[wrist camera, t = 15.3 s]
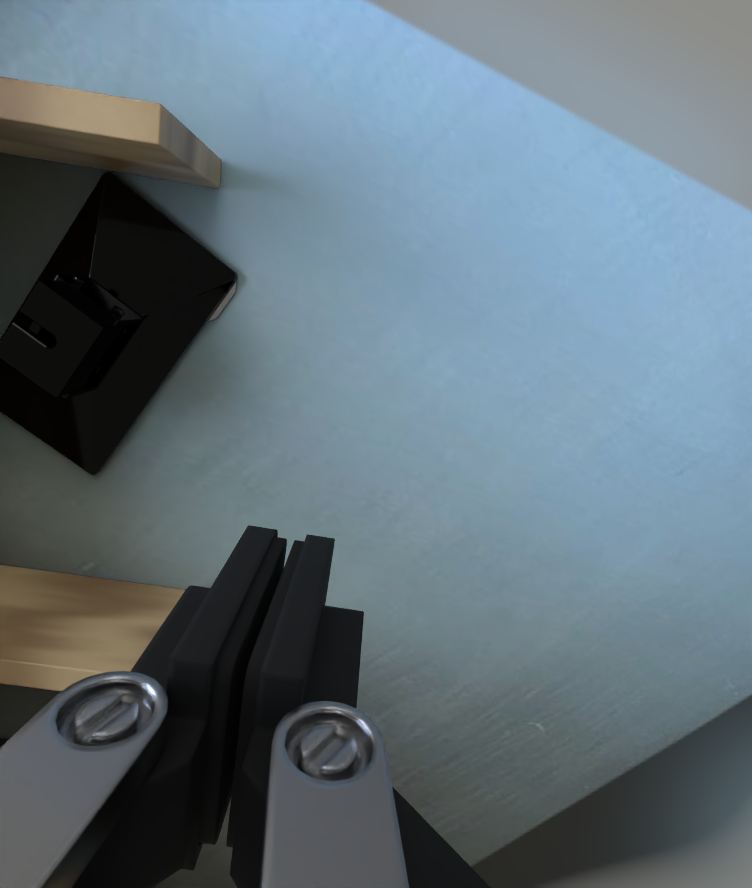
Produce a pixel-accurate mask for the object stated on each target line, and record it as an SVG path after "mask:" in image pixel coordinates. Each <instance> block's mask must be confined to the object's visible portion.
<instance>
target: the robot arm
mask: <svg viewBox="0 0 752 888" xmlns="http://www.w3.org/2000/svg"><path fill="white" fill-rule="evenodd" d="M277 536H278V532H277V530H275V529H268V528H262V527H255V526H248V527H247V528H246V530H245V532H244V533H243V535H242V537H241V538H240V540H239V542H238V543H237V545H236V547H235V548H234V550H233V552H232V553H231V555H230V557H229V558H228V560H227V562H226V563H225V565H224V567H223V568H222V570H221V572H220V573H219V575H218V577H217V578H216V580H215V582H214V583H213V585H212V587H211V588H205V587H199V586H189V587H188V588H187V589H186V590H185V591H184V593H183V594H182V596H181V597H180V599H179V600H178V602H177V603H176V605H175V606H174V608H173V609H172V611H171V612H170V614H169V615H168V616H167V618H166V619H165V621H164V622H163V624H162V625H161V627H160V628H159V630H158V631H157V633H156V634H155V636H154V637H153V639H152V640H151V642H150V643H149V644H148V646H147V647H146V649H145V650H144V652H143V653H142V655H141V656H140V658H139V659H138V661H137V662H136V664H135V665H134V667H133V668H132V669H131V671H130V672H129V671H114V672H104V673H100V674H96V675H93V676H89V677H86V678H84V679H82V680H80V681H78V682H75V683H73V684H71V685H70V686H68V687H67V688H66V689H64V690H63V691H61V692H60V693H59V694H57V695H56V696H55V697H54V698H53V699H52V700H51V701H50V702H49V703H47V704H46V705H45V706H44V707H43V708H42V709H41V710H40V711H39V712H38V713H37V714H36V715H35V716H34V717H33V718H32V719H30V720H29V721H28V722H27V723H26V724H25V725H24V726H23V727H22V728H21V729H20V730H19V731H18V732H17V733H16V734H14V735H13V736H12V737H11V738H10V739H9V740H8V741H7V742H6V743H5V744H4V745H3V746H2V747H1V748H0V888H156V884H158V883H159V882H161V881H163V880H164V879H166V878H167V877H169V876H170V875H172V874H173V873H175V872H176V871H178V870H180V869H187V870H194V868H195V865H196V862H197V859H198V856H199V853H200V850H201V847H202V844H203V843H206V844H213V845H215V844H216V842H217V840H218V837H219V834H220V831H221V828H222V824H223V821H224V818H225V815H226V812H227V808H228V805H229V802H230V799H231V806H230V815H229V825H228V834H227V847H233V851H232V860H231V869H230V876H231V877H232V879H233V881H234V882H235V884H236V886H237V887H238V888H491V887H490V886H489V885H488V884H487V883H486V882H485V881H484V880H483V879H482V878H481V877H480V876H479V875H478V874H477V873H476V872H475V871H474V870H473V869H472V868H471V867H470V866H469V865H468V864H467V863H466V862H465V861H464V860H463V859H462V858H461V857H460V856H459V854H458V853H457V852H456V851H455V850H454V849H453V848H452V847H451V846H450V845H449V844H448V843H447V842H446V841H445V840H444V839H443V838H442V837H441V836H440V835H439V834H438V833H437V832H436V831H435V830H434V829H433V828H432V827H431V826H430V825H429V824H428V823H427V822H426V821H425V820H424V819H423V818H422V817H421V815H420V814H419V813H418V812H417V811H416V810H415V809H414V808H413V807H412V806H411V805H410V804H409V803H408V802H407V801H406V800H405V799H404V798H403V797H402V796H401V795H400V794H399V793H398V792H397V791H396V790H395V789H394V788H393V787H392V783H391V777H390V772H389V766H388V760H387V754H386V748H385V743H384V740H383V738H382V735H381V732H380V730H379V729H378V727H377V726H376V725H375V723H374V722H373V721H372V720H371V718H369V717H368V716H367V715H365V714H364V713H362V712H361V711H360V710H358V709H356V705H357V693H358V680H359V667H360V655H361V642H362V629H363V616H364V612H363V611H357V610H350V609H344V608H337V607H331V606H325V602H326V595H327V588H328V582H329V575H330V568H331V562H332V555H333V548H334V541H335V539H333V538H327V537H320V536H314V535H307V536H306V539H305V542H304V541H297V540H295V541H294V543H293V546H292V549H291V551H290V554H289V557H288V559H287V562H286V565H285V567H284V562H285V554H286V545H287V539H284V538H278V537H277ZM231 795H232V797H231Z"/></svg>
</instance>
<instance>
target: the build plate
mask: <svg viewBox="0 0 752 888" xmlns="http://www.w3.org/2000/svg"><path fill="white" fill-rule="evenodd" d="M237 277H238V276H237V273H236V272H235V271H234V270H233V269H231V268H230V267H229V266H228V265H226V264H225V263H224V262H223V261H221V260H220V259H219V258H218V257H216V256H215V255H214V254H213V253H211V252H210V251H209V250H208V249H206V248H205V247H204V246H203V245H201V244H200V243H199V242H198V241H196V240H195V239H194V238H193V237H191V236H190V235H189V234H188V233H186V232H185V231H184V230H183V229H181V228H180V227H179V226H178V225H176V224H175V223H174V222H173V221H171V220H170V219H169V218H168V217H166V216H165V215H164V214H163V213H162V212H160V211H159V210H158V209H157V208H155V207H154V206H153V205H152V204H150V203H149V202H148V201H147V200H145V199H144V198H143V197H142V196H140V195H139V194H138V193H137V192H135V191H134V190H133V189H132V188H130V187H129V186H128V185H127V184H125V183H124V182H123V181H122V180H120V179H119V178H118V177H117V176H115V175H114V174H112V173H110V172H105V173H104V174H103V175H102V177H101V179H100V180H99V182H98V183H97V185H96V187H95V188H94V190H93V191H92V193H91V195H90V196H89V198H88V199H87V201H86V203H85V204H84V206H83V207H82V209H81V211H80V212H79V214H78V215H77V217H76V219H75V220H74V222H73V224H72V225H71V227H70V228H69V230H68V232H67V233H66V235H65V236H64V238H63V240H62V241H61V243H60V244H59V246H58V248H57V249H56V251H55V252H54V254H53V256H52V257H51V259H50V260H49V262H48V264H47V265H46V267H45V268H44V270H43V272H42V273H41V275H40V276H39V278H38V280H37V281H36V283H35V284H34V286H33V288H32V289H31V291H30V292H29V294H28V296H27V297H26V299H25V300H24V302H23V304H22V305H21V307H20V309H19V310H18V312H17V313H16V315H15V317H14V318H13V320H12V321H11V323H10V325H9V326H8V328H7V329H6V331H5V333H4V334H3V336H2V337H1V339H0V411H1V412H2V413H3V414H5V415H6V416H8V417H9V418H11V419H12V420H14V421H15V422H16V423H18V424H19V425H21V426H22V427H24V428H25V429H26V430H28V431H29V432H31V433H32V434H34V435H35V436H37V437H38V438H39V439H41V440H42V441H44V442H45V443H47V444H48V445H50V446H51V447H52V448H54V449H55V450H57V451H58V452H60V453H61V454H62V455H64V456H65V457H67V458H68V459H70V460H71V461H73V462H74V463H75V464H77V465H78V466H80V467H81V468H83V469H84V470H86V471H87V472H88V473H90V474H92V475H95V474H97V473H99V472H100V471H101V470H102V468H103V467H104V466H105V464H106V463H107V461H108V460H109V459H110V457H111V456H112V454H113V453H114V452H115V450H116V449H117V447H118V446H119V444H120V443H121V442H122V440H123V439H124V437H125V436H126V435H127V433H128V432H129V430H130V429H131V428H132V426H133V425H134V423H135V422H136V421H137V419H138V418H139V416H140V415H141V414H142V412H143V411H144V409H145V408H146V407H147V405H148V404H149V402H150V401H151V399H152V398H153V397H154V395H155V394H156V392H157V391H158V390H159V388H160V387H161V385H162V384H163V383H164V381H165V380H166V378H167V377H168V376H169V374H170V373H171V371H172V370H173V369H174V367H175V366H176V364H177V363H178V362H179V360H180V359H181V357H182V356H183V355H184V353H185V352H186V350H187V349H188V347H189V346H190V345H191V343H192V342H193V340H194V339H195V338H196V336H197V335H198V333H199V332H200V331H201V329H202V328H203V326H204V325H205V324H206V322H208V321H210V320H213V319H216V318H217V317H218V316H219V314H220V313H221V311H222V310H223V309H224V307H225V306H226V305H227V303H228V302H229V300H230V299H231V298H232V296H233V295H234V293H235V292H236V280H237Z"/></svg>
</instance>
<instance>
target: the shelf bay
mask: <svg viewBox="0 0 752 888" xmlns="http://www.w3.org/2000/svg"><path fill="white" fill-rule="evenodd" d="M0 153H6V154H12V155H18V156H24V157H31V158H37V159H43V160H49V161H55V162H61V163H67V164H73V165H79V166H85V167H91V168H98V169H104V170H110V171H116V172H122V173H128V174H134V175H140V176H146V177H152V178H159V179H165V180H171V181H177V182H183V183H189V184H195V185H201V186H207V187H213V188H219V187H220V174H221V159H220V158H219V157H218V156H217V155H216V154H215V153H214V152H213V151H211V150H210V149H209V148H208V147H207V146H206V145H205V144H204V143H203V142H202V141H201V140H199V139H198V138H197V137H196V136H195V135H194V134H193V133H192V132H191V131H190V130H189V129H188V128H186V127H185V126H184V125H183V124H182V123H181V122H180V121H179V120H178V119H177V118H176V117H175V116H173V115H172V114H171V113H170V112H169V111H168V110H167V109H166V108H165V107H164V106H163V105H161V104H159V103H153V102H147V101H141V100H135V99H129V98H124V97H118V96H112V95H106V94H100V93H94V92H88V91H82V90H76V89H70V88H64V87H59V86H53V85H47V84H41V83H35V82H29V81H23V80H17V79H11V78H5V77H0ZM184 591H185V590H184V589H177V588H169V587H162V586H154V585H147V584H140V583H132V582H125V581H117V580H110V579H103V578H95V577H88V576H80V575H73V574H66V573H58V572H51V571H43V570H36V569H29V568H21V567H14V566H6V565H0V683H1V684H9V685H16V686H24V687H32V688H40V689H48V690H56V691H63V690H64V689H66V688H67V687H68V686H70V685H71V684H73V683H75V682H78V681H80V680H82V679H84V678H86V677H89V676H93V675H96V674H100V673H104V672H114V671H129V672H130V671H131V669H132V668H133V667H134V665H135V664H136V662H137V661H138V659H139V658H140V656H141V655H142V653H143V652H144V650H145V649H146V647H147V646H148V644H149V643H150V642H151V640H152V639H153V637H154V636H155V634H156V633H157V631H158V630H159V628H160V627H161V625H162V624H163V622H164V621H165V619H166V618H167V616H168V615H169V614H170V612H171V611H172V609H173V608H174V606H175V605H176V603H177V602H178V600H179V599H180V597H181V596H182V594H183V593H184Z"/></svg>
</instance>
